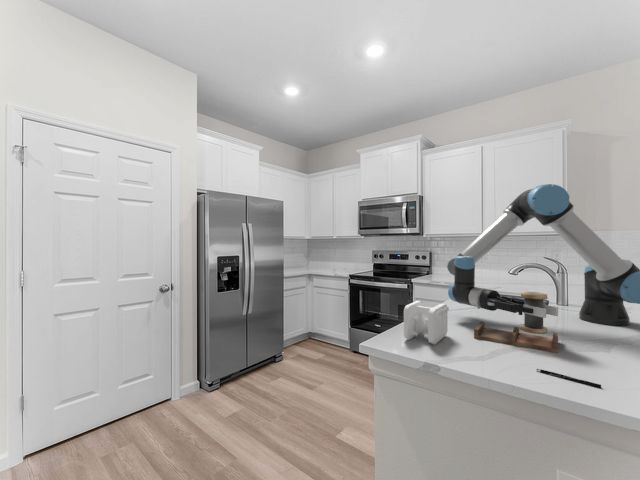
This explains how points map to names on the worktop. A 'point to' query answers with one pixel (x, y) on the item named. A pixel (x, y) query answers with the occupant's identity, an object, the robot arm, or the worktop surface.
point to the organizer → (425, 321)
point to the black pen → (570, 378)
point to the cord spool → (530, 321)
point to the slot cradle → (517, 338)
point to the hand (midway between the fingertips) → (551, 312)
